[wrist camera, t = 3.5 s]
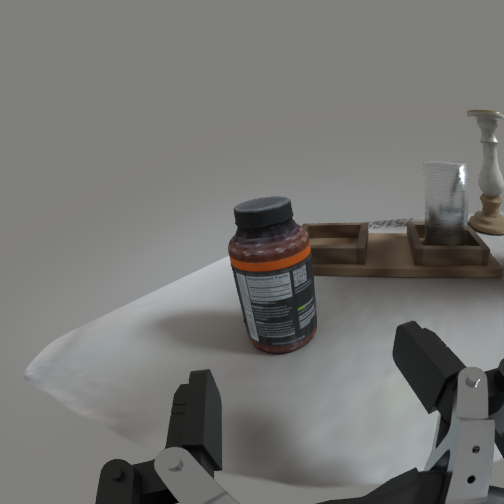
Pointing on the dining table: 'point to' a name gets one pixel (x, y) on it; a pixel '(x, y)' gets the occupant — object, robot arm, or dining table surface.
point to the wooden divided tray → (395, 253)
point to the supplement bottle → (273, 275)
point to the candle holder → (489, 175)
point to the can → (445, 203)
